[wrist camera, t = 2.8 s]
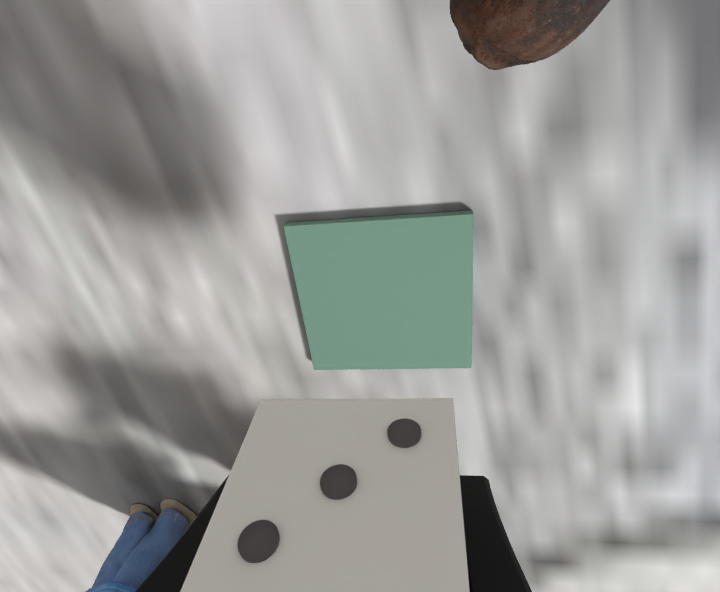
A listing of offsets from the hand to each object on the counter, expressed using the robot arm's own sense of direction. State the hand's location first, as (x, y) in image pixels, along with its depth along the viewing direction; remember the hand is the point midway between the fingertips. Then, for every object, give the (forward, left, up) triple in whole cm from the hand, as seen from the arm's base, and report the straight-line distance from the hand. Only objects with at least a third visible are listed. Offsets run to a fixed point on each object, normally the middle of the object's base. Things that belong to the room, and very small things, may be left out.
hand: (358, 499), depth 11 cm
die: (0, 0, -1) cm, 1 cm away
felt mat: (0, 0, -9) cm, 9 cm away
